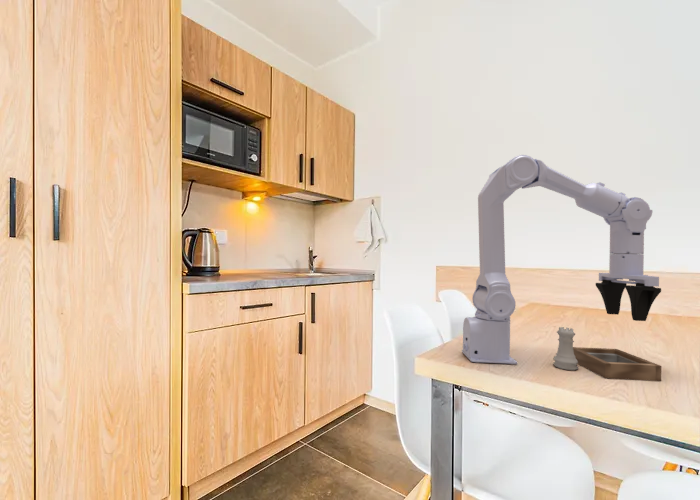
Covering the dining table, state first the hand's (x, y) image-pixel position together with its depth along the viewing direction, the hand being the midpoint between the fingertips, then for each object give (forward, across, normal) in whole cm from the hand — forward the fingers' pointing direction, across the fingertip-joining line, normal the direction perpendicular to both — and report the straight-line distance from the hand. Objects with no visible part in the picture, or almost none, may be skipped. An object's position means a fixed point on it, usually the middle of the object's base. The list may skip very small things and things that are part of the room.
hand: (625, 317), depth 73 cm
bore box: (+10, -4, +6) cm, 12 cm away
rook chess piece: (+10, -4, +14) cm, 18 cm away
